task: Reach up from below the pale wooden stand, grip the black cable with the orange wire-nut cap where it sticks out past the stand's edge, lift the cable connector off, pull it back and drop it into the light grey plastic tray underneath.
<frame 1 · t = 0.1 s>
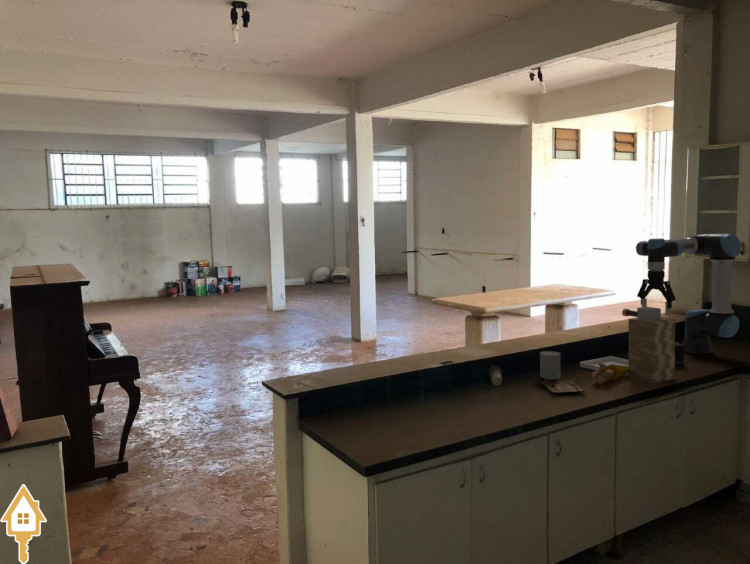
hand: (655, 313, 295), 28 cm above the counter, tool pointing down, fingers open, 13 cm apart
small box: (673, 363, 309), on the counter
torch: (613, 380, 281), on the counter, touching stand, tray
cable connector: (648, 318, 282), point 28 cm above the counter, touching stand
stand: (651, 377, 283), on the counter
tray: (614, 368, 302), on the counter
grey cylinder: (550, 378, 290), on the counter
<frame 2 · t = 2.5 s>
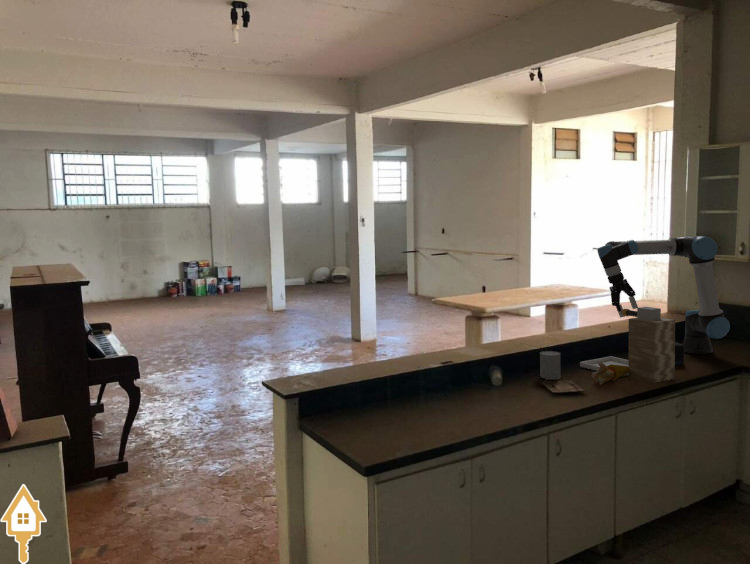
hand: (629, 312, 309), 26 cm above the counter, tool tilted 20°, fingers open, 13 cm apart
nothing on the counter moved.
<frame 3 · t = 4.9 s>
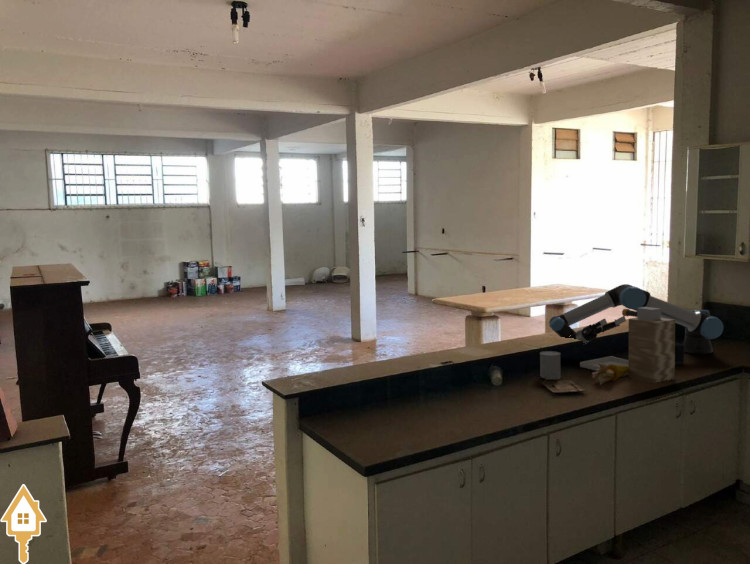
hand: (615, 319, 300), 25 cm above the counter, tool pointing upward, fingers open, 13 cm apart
nothing on the counter moved.
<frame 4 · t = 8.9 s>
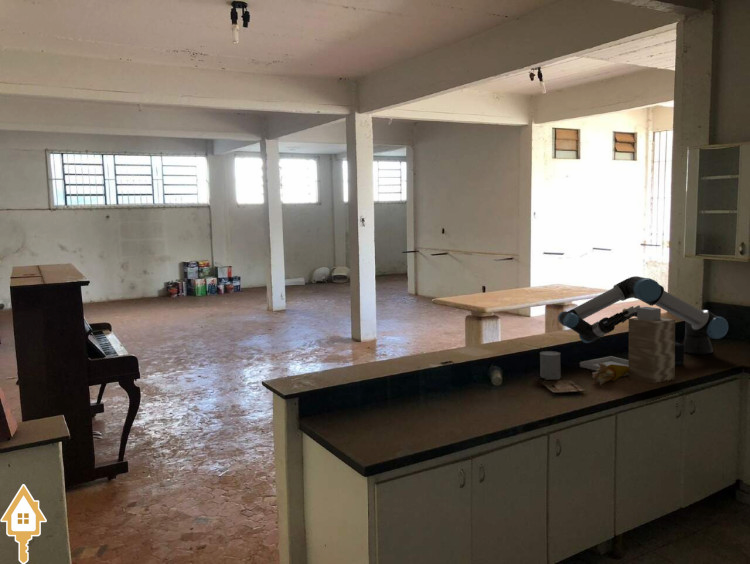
hand: (636, 308, 287), 32 cm above the counter, tool pointing upward, fingers closed on cable connector, 3 cm apart
cable connector: (648, 318, 282), point 28 cm above the counter, touching gripper, stand
everything else where it was.
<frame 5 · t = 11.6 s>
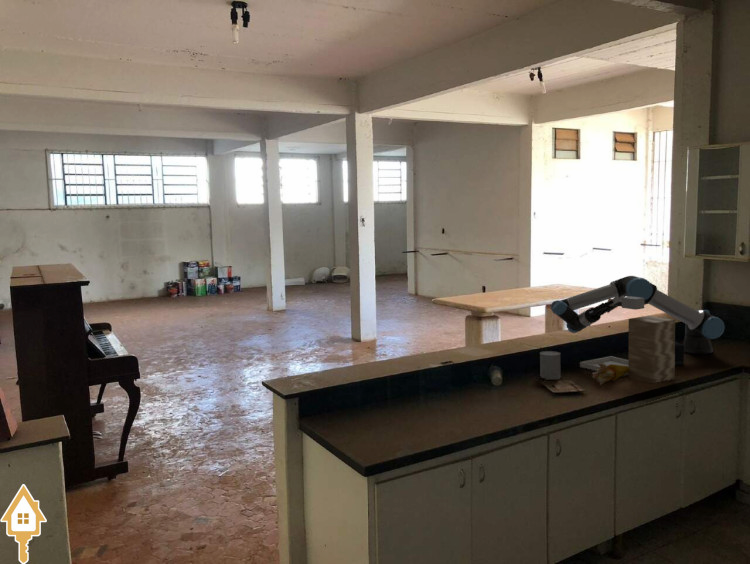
hand: (621, 298, 295), 36 cm above the counter, tool pointing upward, fingers closed on cable connector, 3 cm apart
cable connector: (632, 308, 289), point 32 cm above the counter, touching gripper
everything else where it was.
when the fingers open (25 cm above the counter, at t = 14.4 s): cable connector drops 20 cm, resting on tray.
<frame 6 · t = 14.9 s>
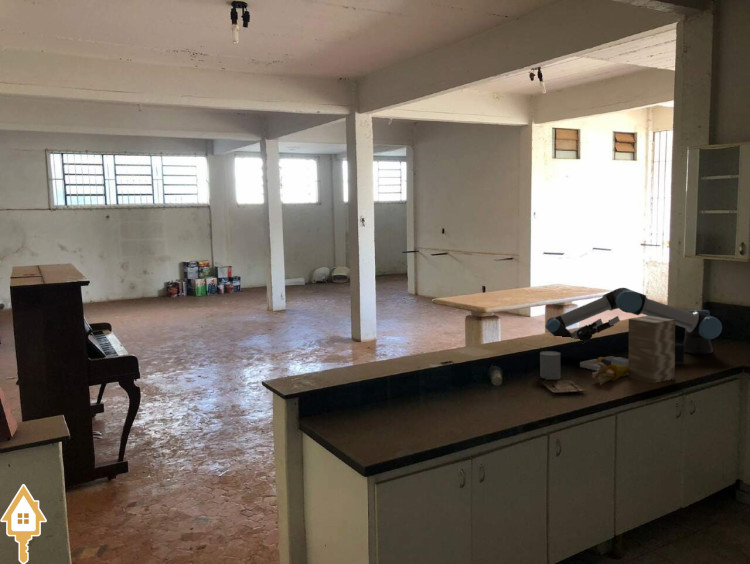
hand: (609, 319, 303), 24 cm above the counter, tool pointing upward, fingers open, 11 cm apart
cable connector: (621, 369, 298), point 1 cm above the counter, touching tray
everything else where it was.
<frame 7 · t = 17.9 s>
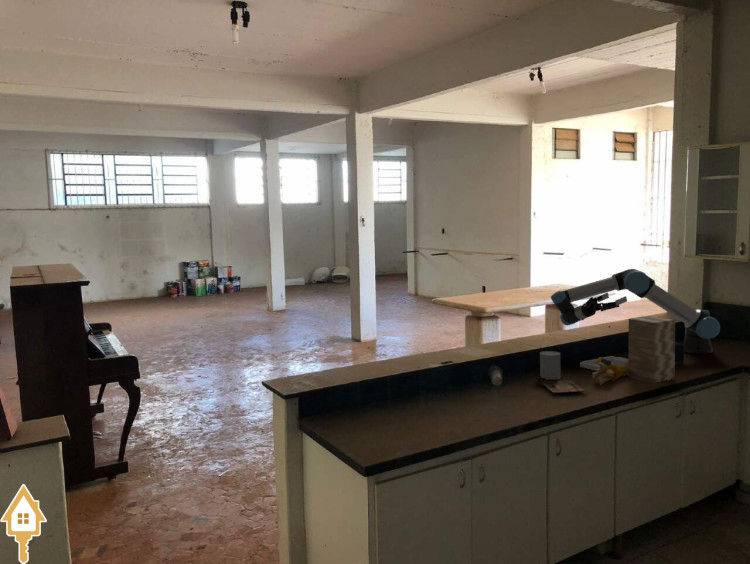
hand: (617, 296, 306), 35 cm above the counter, tool pointing upward, fingers open, 13 cm apart
nothing on the counter moved.
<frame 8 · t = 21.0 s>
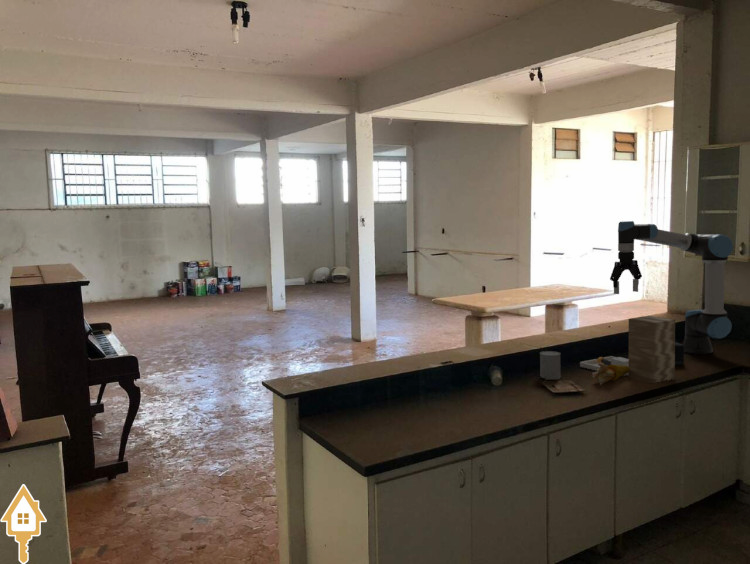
hand: (626, 292, 310), 37 cm above the counter, tool pointing down, fingers open, 13 cm apart
nothing on the counter moved.
at the end: cable connector inside the target area on the tray (4.3 cm from its centre), point 0.6 cm above the tray's base; the gripper is holding nothing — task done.
